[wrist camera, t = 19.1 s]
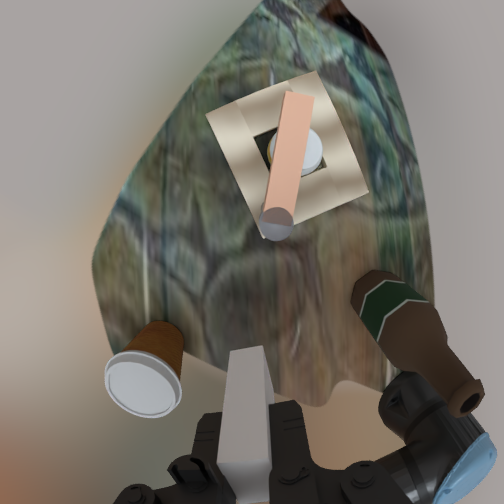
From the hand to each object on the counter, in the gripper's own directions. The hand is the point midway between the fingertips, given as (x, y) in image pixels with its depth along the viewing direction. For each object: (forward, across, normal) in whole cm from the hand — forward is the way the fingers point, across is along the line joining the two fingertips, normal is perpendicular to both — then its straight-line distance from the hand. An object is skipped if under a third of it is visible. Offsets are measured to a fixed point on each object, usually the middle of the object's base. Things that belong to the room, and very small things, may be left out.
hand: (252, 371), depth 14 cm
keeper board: (+25, +7, +11) cm, 28 cm away
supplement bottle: (+26, +7, +11) cm, 29 cm away
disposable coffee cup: (+26, -15, -10) cm, 32 cm away
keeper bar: (+15, +5, +9) cm, 18 cm away
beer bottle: (+26, +15, -10) cm, 32 cm away
